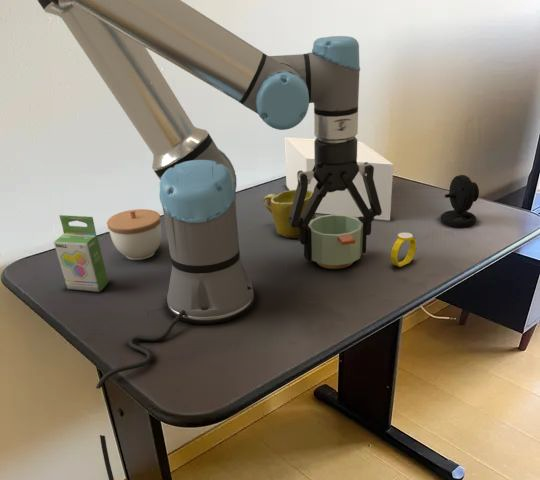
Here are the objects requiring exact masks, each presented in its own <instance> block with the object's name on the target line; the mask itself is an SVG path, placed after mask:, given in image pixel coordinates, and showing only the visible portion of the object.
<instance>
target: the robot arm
mask: <svg viewBox="0 0 540 480" xmlns="http://www.w3.org/2000/svg"><path fill="white" fill-rule="evenodd" d="M37 2H38V4H39V5H40V6H41V8H42V9H43V11H44V12H45V13H47V14H50V15H53V16H57V17H59V18H60V19H62V21H63V22H64V24H65V26H66V27H67V28H68V30H69V32H70V33H71V34H72V36H73V37H74V39H75V40H76V42H77V44H78V45H79V46H80V48H81V49H82V51H83V52H84V54H85V56H86V57H87V58H88V60H89V61H90V63H91V64H92V66H93V67H94V69H95V70H96V72H97V73H98V74H99V76H100V78H101V80H102V81H103V82H104V83H105V85H106V87H107V88H108V90H109V91H110V93H111V94H112V95H113V97H114V98H115V99H116V102H117V103H118V104H119V106H120V107H121V109H122V111H123V112H124V114H125V115H126V116H127V117H128V119H129V120H130V122H131V124H132V125H133V126H134V129H135V130H136V131H137V132H138V134H139V136H140V137H141V138H142V140H143V142H144V143H145V144H146V146H147V147H148V149H149V151H150V152H151V153H152V156H153V158H152V164H151V168H152V170H153V172H154V173H155V175H156V177H158V179H159V201H160V204H161V207H162V213H163V218H164V224H165V231H166V237H167V243H168V250H169V255H170V262H171V271H170V277H169V285H168V291H167V294H166V302H167V308H168V312H169V313H170V315H171V316H172V317H174V319H173V320H171V322H170V323H169V324H168V325H167V327H166V329H165V331H164V332H162V334H160V335H158V336H148V335H147V336H146V335H135V336H133V337H131V338H130V339H129V340H128V346H129V347H130V348H131V349H133V350H135V351H138V352H140V353H142V354H144V355H145V356H146V357H145V358H144V359H143V360H141V361H139V362H135V363H131V364H126V365H122V366H119V367H115V368H113V369H111V370H109V371H108V372H106V373H105V374H104V375H103V376H102V377H101V378H100V379H99V381H98V382H97V384H96V386H95V389H96V390H97V389H101V388H102V387H103V385H105V382H106V381H107V380H108V379H109V378H110V377H112V376H114V375H115V374H118V373H121V372H125V371H130V370H134V369H138V368H141V367H142V368H143V367H144V366H146V365H147V364H149V363H150V362H151V361H152V358H153V354H152V353H151V351H150V350H149V349H146V348H145V347H142V346H139V345H137V344H135V342H136V341H145V342H158V341H162V340H163V339H165V338H167V337H168V336H169V335H170V333H171V331H172V330H173V328H174V327H175V326H176V324H177V323H179V321H182V322H184V323H188V324H193V325H212V324H218V323H220V324H221V323H224V322H228V321H231V320H234V319H237V318H239V317H240V316H243V315H244V314H245V313H247V312H248V311H249V310H250V309H251V308H252V307H253V305H254V302H255V292H254V287H253V285H252V282H251V280H250V278H249V276H248V274H247V271H246V269H245V267H244V264H243V262H242V260H241V253H240V252H241V251H240V241H239V231H238V219H237V175H236V170H235V168H234V164H233V163H232V161H231V160H230V158H229V157H228V156H227V155H226V153H224V152H223V151H222V150H221V149H220V148H218V147H217V145H216V143H215V141H214V139H213V138H212V137H211V135H210V133H209V131H208V130H207V129H204V128H199V127H196V126H194V123H193V122H192V120H191V119H190V117H189V116H188V113H186V110H185V109H184V107H183V105H182V104H181V103H180V101H179V100H178V97H177V96H176V94H175V93H174V91H173V90H172V88H171V87H170V84H169V83H168V82H167V79H166V78H165V77H164V75H163V74H162V72H161V70H160V68H159V67H158V65H157V63H156V62H155V61H154V59H153V57H152V55H151V54H150V52H149V51H151V52H152V53H154V54H156V55H158V56H159V57H161V58H163V59H164V60H166V61H168V62H170V63H171V64H174V65H175V66H177V67H178V68H180V69H181V70H184V71H185V72H187V73H189V74H190V75H192V76H194V77H195V78H197V79H199V80H201V81H202V82H203V83H206V84H207V85H209V86H211V87H212V88H214V89H216V90H217V91H219V92H221V93H223V94H224V95H226V96H227V97H230V98H231V99H233V100H235V101H237V102H238V103H239V104H241V105H243V106H244V107H245V108H247V109H249V110H250V111H252V112H254V113H255V114H257V115H258V116H259V118H260V119H261V120H262V121H263V122H264V123H265V124H266V125H267V126H269V127H270V128H272V129H275V130H278V131H285V130H290V129H293V128H295V127H297V126H298V125H299V124H300V123H302V122H303V120H305V119H304V118H306V116H307V113H308V112H309V111H308V110H309V107H310V104H313V136H314V137H316V138H315V139H316V140H315V141H314V154H315V165H314V168H313V170H312V171H307V172H303V171H301V170H300V171H298V173H297V178H298V185H297V189H296V193H295V197H294V200H293V204H292V208H291V212H290V216H289V219H288V221H289V223H290V224H291V226H292V227H294V228H295V227H297V228H299V238H298V241H299V243H300V244H301V246H303V257H304V258H305V260H306V261H307V262H308V263H309V262H312V261H313V260H312V246H311V228H310V227H309V226H308V225H309V223H310V221H311V219H312V217H313V215H314V214H315V215H316V213H315V212H316V210H317V208H318V206H319V204H320V203H321V201H322V199H323V198H324V197H325V196H326V194H327V192H329V193H330V192H334V191H337V190H338V191H345V189H347V190H348V192H349V193H350V195H351V196H352V198H353V200H354V201H355V203H356V205H357V206H358V208H359V210H360V211H361V213H362V215H363V217H362V216H361V217H357V218H358V219H359V220H360V221H361V222H362V223H363V243H362V254H361V255H363V254H366V253H367V236H371V233H372V222H374V220H375V219H374V217H375V216H379V215H381V213H382V210H381V207H380V203H379V199H378V195H377V191H376V187H375V184H374V180H373V173H374V167H373V166H372V165H371V164H369V163H368V162H365V163H364V164H362V165H358V164H357V141H358V138H357V137H356V136H357V135H358V133H359V132H358V131H359V130H358V129H359V96H360V95H359V92H360V71H361V66H360V44H359V43H360V42H358V40H357V39H356V38H355V37H352V36H348V35H347V36H346V35H332V36H331V35H330V36H326V37H319V38H316V39H315V40H314V41H313V44H312V49H311V52H307V53H302V54H301V53H299V54H283V55H282V54H281V55H268V54H266V53H264V52H263V51H261V50H260V49H259V48H257V47H255V46H253V45H252V44H251V43H249V42H247V41H245V40H244V39H243V38H241V37H239V36H238V35H237V34H235V33H233V32H231V31H230V30H228V29H227V28H226V27H224V26H222V25H220V24H219V23H217V22H215V21H214V20H212V19H211V18H209V17H208V16H206V15H205V14H203V13H202V12H200V11H198V10H197V9H195V8H193V7H192V6H191V5H189V4H187V3H186V2H184V1H182V0H37ZM148 50H149V51H148ZM358 172H360V175H361V176H362V177H363V181H364V184H365V188H366V192H367V195H368V199H369V203H370V206H371V208H370V209H368V207H367V206H366V204H365V202H364V201H363V199H362V197H361V195H360V194H359V192H358V190H357V188H356V186H355V185H354V183H353V180H354V178H355V176H356V175H357V173H358ZM312 178H315V179H316V180H317V184H316V186H315V188H314V192H313V194H312V196H311V197H310V199H309V201H308V203H307V205H306V207H305V209H304V211H303V212H302V214H301V211H302V208H303V204H304V200H305V197H306V193H307V189H308V184H310V182H311V179H312ZM300 215H301V216H300ZM99 439H100V440H99V441H100V446H101V451H102V456H103V460H104V464H105V470H106V474H107V478H108V480H115V477H114V474H113V471H112V465H111V463H110V456H109V452H108V447H107V439H106V436H105V435H102V434H99Z"/></svg>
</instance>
